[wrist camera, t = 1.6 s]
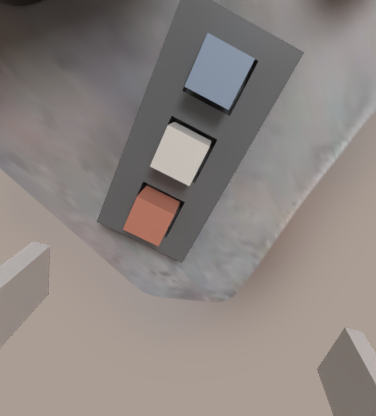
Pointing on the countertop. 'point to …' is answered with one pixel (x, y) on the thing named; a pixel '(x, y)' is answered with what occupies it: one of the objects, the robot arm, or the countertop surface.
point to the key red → (151, 215)
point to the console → (197, 120)
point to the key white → (180, 153)
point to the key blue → (219, 71)
